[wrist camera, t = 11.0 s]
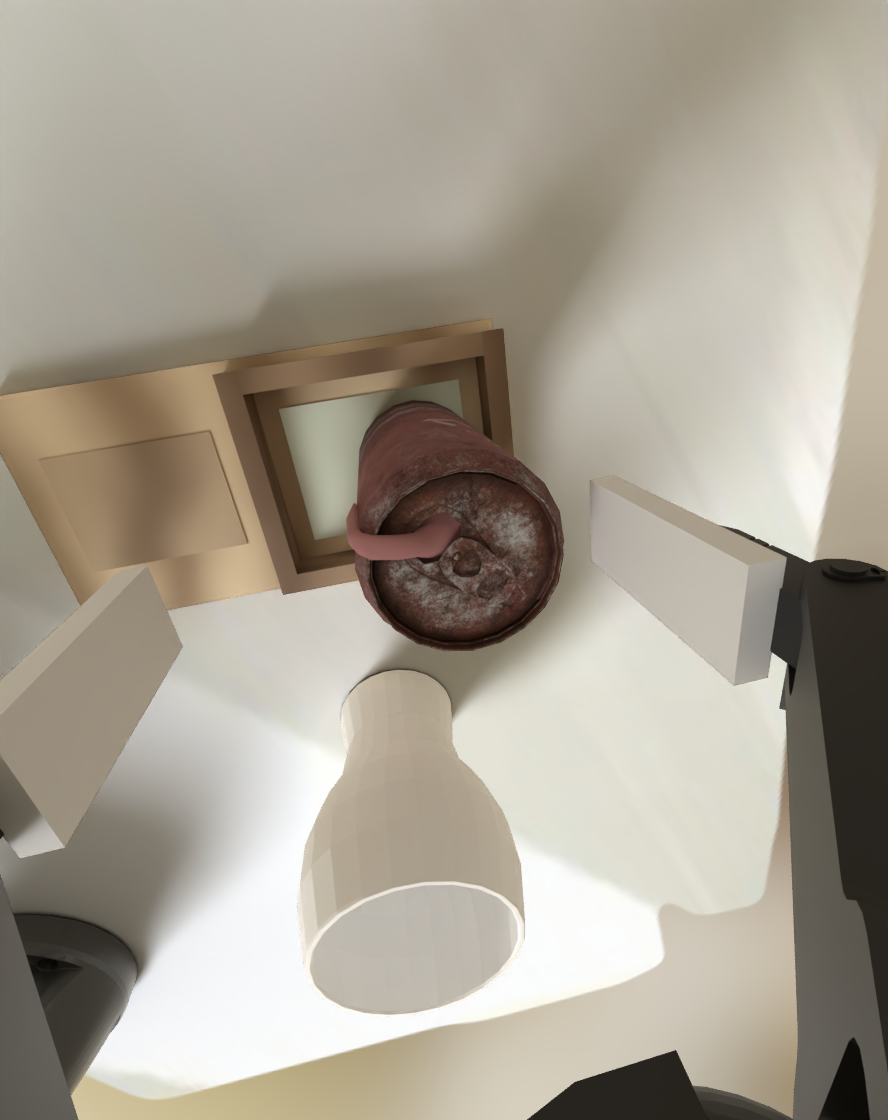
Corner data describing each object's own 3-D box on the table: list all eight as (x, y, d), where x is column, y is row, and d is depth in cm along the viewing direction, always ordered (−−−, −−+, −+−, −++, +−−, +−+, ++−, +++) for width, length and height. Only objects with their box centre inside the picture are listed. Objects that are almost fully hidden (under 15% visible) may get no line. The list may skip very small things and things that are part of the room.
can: (355, 393, 24) (344, 447, 11) (480, 404, 25) (597, 464, 12) (352, 511, 26) (341, 664, 14) (467, 516, 28) (554, 662, 15)
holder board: (104, 611, 28) (71, 645, 25) (-6, 396, 23) (-64, 404, 20) (505, 534, 30) (522, 556, 27) (484, 319, 25) (502, 316, 22)
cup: (491, 666, 34) (577, 880, 20) (443, 778, 38) (488, 1023, 24) (341, 636, 31) (324, 860, 18) (304, 760, 35) (266, 1025, 21)
